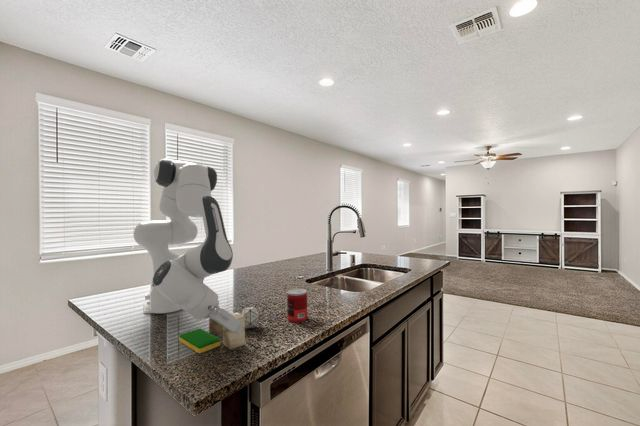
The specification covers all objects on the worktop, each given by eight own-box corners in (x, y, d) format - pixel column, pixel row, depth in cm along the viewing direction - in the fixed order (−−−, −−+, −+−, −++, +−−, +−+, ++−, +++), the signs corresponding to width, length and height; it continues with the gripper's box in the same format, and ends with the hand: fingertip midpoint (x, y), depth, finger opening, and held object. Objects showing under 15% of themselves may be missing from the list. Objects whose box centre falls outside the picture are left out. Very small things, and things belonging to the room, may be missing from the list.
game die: (252, 340, 104) (254, 324, 98) (232, 330, 106) (232, 313, 100) (265, 320, 111) (267, 304, 105) (245, 311, 113) (246, 295, 107)
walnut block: (209, 332, 102) (209, 315, 102) (221, 327, 107) (220, 311, 107) (218, 335, 100) (218, 318, 100) (230, 330, 104) (230, 313, 104)
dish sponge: (199, 355, 87) (199, 347, 87) (178, 342, 96) (178, 334, 96) (220, 346, 92) (220, 338, 92) (199, 334, 101) (199, 327, 101)
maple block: (223, 344, 93) (222, 316, 93) (237, 339, 96) (237, 312, 96) (230, 349, 89) (229, 320, 89) (245, 344, 93) (244, 316, 93)
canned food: (310, 316, 117) (309, 289, 116) (302, 324, 109) (302, 294, 109) (292, 314, 119) (292, 287, 119) (284, 321, 111) (283, 293, 111)
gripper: (225, 301, 80) (257, 327, 87) (198, 288, 95) (227, 311, 102) (209, 322, 77) (243, 347, 84) (183, 304, 92) (214, 327, 99)
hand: (234, 327), depth 93 cm, fingers open, 8 cm apart
